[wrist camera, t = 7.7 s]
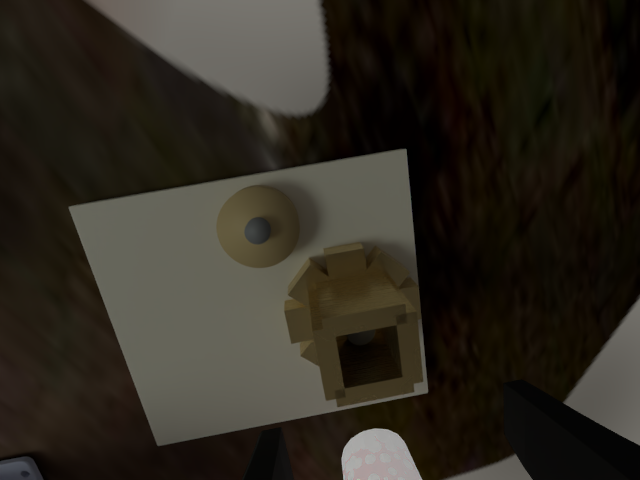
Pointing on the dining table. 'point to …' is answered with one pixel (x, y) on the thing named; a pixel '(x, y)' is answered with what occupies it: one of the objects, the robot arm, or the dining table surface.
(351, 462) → the beverage cup
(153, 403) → the plate
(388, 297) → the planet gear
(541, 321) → the dining table surface
